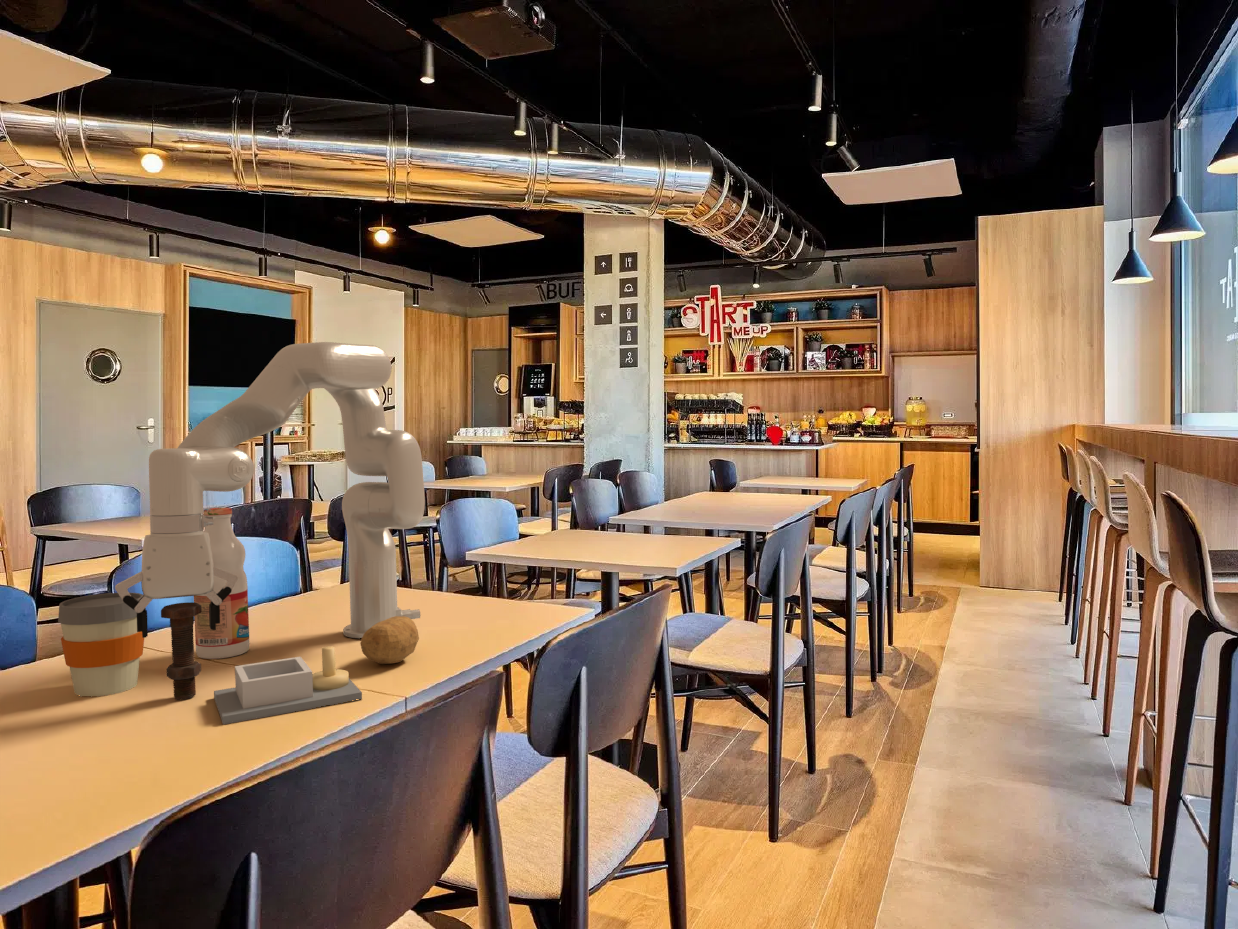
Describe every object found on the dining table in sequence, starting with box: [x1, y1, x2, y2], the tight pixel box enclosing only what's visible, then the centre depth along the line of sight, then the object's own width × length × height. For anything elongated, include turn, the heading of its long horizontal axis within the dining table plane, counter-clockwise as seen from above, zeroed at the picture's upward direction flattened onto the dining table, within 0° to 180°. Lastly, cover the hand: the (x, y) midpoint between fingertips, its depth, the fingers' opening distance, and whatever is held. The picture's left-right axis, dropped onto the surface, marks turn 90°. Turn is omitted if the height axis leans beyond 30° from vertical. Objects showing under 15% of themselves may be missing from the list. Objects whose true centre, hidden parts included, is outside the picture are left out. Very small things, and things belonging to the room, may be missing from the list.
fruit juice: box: [193, 507, 251, 660], centre depth 160 cm, size 9×9×28 cm
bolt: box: [160, 601, 202, 701], centre depth 134 cm, size 6×5×15 cm
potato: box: [359, 616, 420, 665], centre depth 153 cm, size 10×14×8 cm
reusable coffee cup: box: [57, 592, 145, 698], centre depth 139 cm, size 13×12×15 cm
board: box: [213, 646, 363, 725], centre depth 133 cm, size 20×14×7 cm
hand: (179, 632), depth 133 cm, fingers open, 9 cm apart
